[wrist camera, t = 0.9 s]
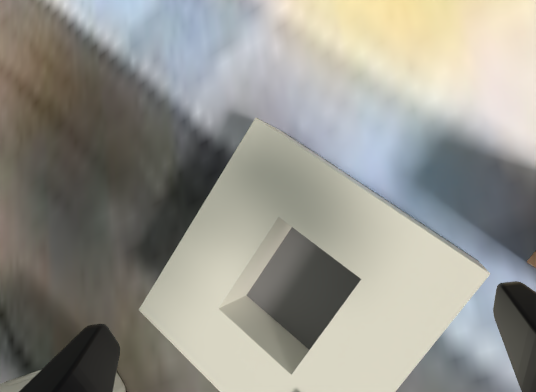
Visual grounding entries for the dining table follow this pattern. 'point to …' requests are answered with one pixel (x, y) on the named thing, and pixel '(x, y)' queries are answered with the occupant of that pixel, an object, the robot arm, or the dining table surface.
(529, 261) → the plug
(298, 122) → the dining table surface
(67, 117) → the dining table surface
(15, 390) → the white cup
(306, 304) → the socket plate
